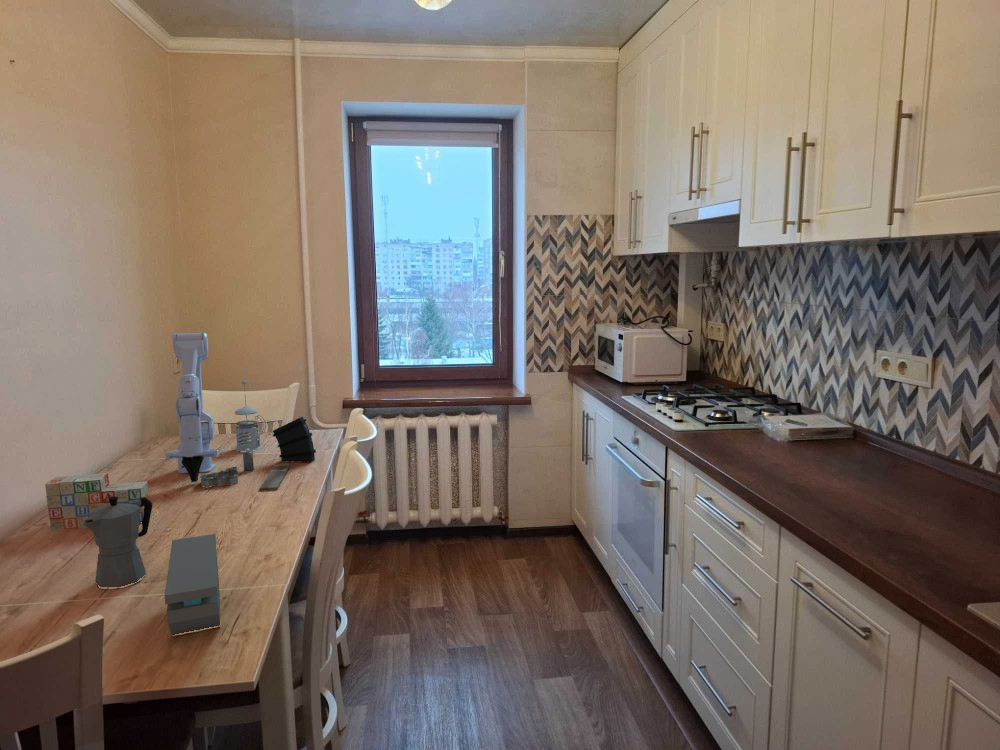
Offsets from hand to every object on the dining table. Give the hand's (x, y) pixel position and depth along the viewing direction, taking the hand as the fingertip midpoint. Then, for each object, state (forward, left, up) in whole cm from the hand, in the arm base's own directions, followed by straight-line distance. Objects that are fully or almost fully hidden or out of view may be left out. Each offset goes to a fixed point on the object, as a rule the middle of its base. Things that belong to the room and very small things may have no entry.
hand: (194, 480), depth 202 cm
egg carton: (+7, 0, -2) cm, 7 cm away
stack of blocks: (-15, -29, -1) cm, 32 cm away
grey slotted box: (+23, -83, -1) cm, 87 cm away
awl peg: (+13, +12, -1) cm, 18 cm away
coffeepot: (+4, -64, -1) cm, 64 cm away
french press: (+8, +40, -1) cm, 41 cm away
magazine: (+26, +21, -1) cm, 34 cm away
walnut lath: (+23, +2, -1) cm, 23 cm away
